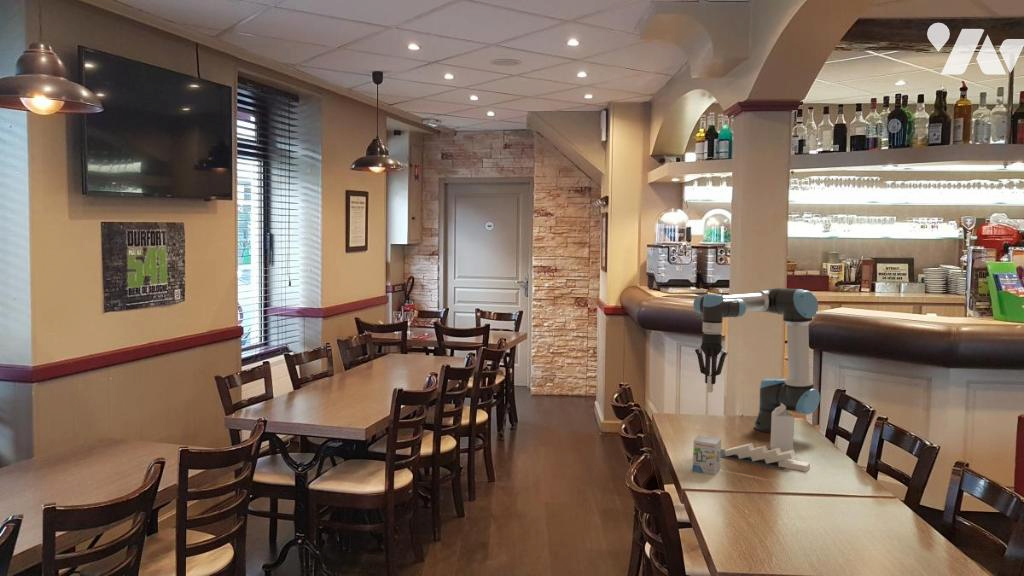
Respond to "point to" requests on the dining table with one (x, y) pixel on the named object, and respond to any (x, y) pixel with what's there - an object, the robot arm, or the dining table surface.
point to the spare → (739, 449)
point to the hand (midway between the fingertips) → (709, 391)
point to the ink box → (706, 455)
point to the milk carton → (782, 429)
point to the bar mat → (749, 460)
